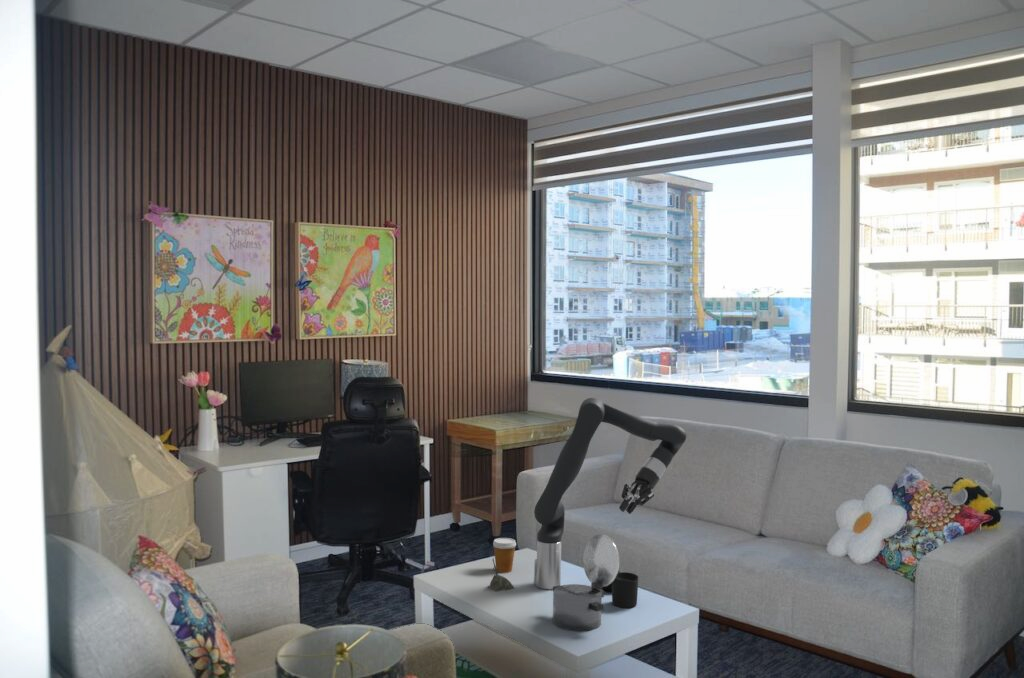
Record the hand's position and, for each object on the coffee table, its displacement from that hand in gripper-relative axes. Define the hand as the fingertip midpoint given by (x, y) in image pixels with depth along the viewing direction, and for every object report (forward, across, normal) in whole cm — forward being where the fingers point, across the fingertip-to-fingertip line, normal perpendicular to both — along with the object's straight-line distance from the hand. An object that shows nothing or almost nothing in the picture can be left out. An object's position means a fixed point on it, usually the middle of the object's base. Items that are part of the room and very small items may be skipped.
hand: (624, 511), depth 272 cm
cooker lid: (+19, 0, +3) cm, 19 cm away
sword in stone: (+41, -43, +9) cm, 60 cm away
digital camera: (+18, -20, +32) cm, 42 cm away
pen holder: (+21, -5, +28) cm, 36 cm away
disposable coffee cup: (+31, -60, +18) cm, 70 cm away
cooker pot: (+39, 0, +10) cm, 40 cm away
